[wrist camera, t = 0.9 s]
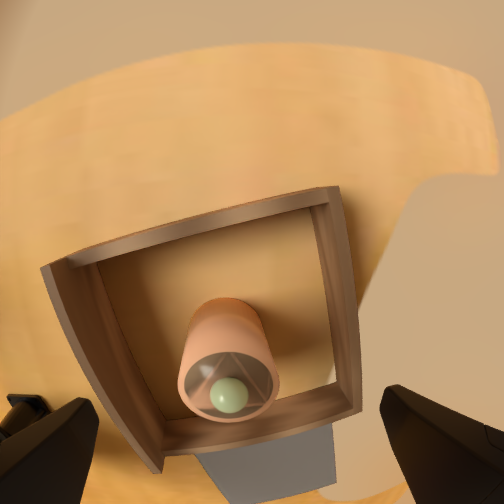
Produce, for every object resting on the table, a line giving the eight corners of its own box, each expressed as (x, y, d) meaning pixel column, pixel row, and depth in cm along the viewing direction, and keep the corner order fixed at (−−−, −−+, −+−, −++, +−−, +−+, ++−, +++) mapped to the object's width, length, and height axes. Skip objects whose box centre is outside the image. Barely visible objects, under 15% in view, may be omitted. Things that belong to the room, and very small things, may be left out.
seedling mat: (232, 504, 26) (232, 506, 25) (194, 450, 23) (194, 454, 23) (335, 480, 27) (336, 482, 26) (330, 419, 24) (331, 422, 23)
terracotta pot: (201, 368, 21) (196, 447, 13) (179, 307, 20) (156, 375, 12) (268, 352, 22) (293, 428, 13) (252, 289, 20) (274, 350, 12)
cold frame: (161, 427, 22) (153, 473, 16) (83, 248, 18) (39, 267, 13) (345, 385, 23) (372, 426, 17) (316, 187, 19) (354, 184, 14)
